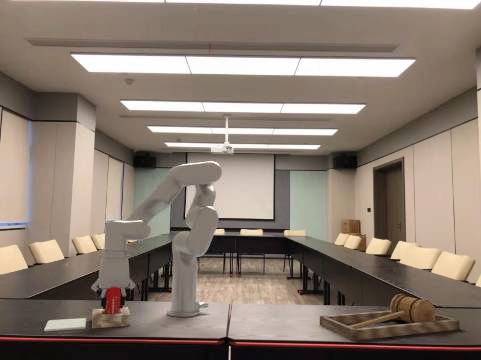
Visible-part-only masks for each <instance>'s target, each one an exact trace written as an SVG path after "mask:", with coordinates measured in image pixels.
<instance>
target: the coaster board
mask: <svg viewBox="0 0 481 360" xmlns="http://www.w3.org/2000/svg"><path fill="white" fill-rule="evenodd" d="M86 324H87V318H86V317H83V318H80V317H79V318H65V319H49V320H48V321H47V322H46V325H45V327H44V329H43V332H47V333H48V332H59V331H73V330H74V331H75V330H85V329H86Z"/></svg>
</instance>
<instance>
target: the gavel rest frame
mask: <svg viewBox="0 0 481 360" xmlns="http://www.w3.org/2000/svg"><path fill="white" fill-rule="evenodd" d="M390 314H391V310H382V311H381V310H380V311H370V312H369V311H368V312H367V311H366V312H356V313H346V314H345V313H344V314H343V313H341V314H331V315H319V325H320V326H321V327H324V328H325V329H327V330H331V332H334V333H336V334H339V335H341V336H343V337H346V338H348V339H350V340H352V341H363V340H372V339H374V340H375V339H382V338H389V337H391V338H392V337H398V336H399V337H400V336H401V337H402V336H408V335H418V334H428V333H438V332H444V331H445V332H447V331H456V330H461V329H460V328H461V327H460V324H461V323H460V320H459V319H456V318H451V317H448V316H444V315H440V314H438V313H435V321H432V322H422V323H403V324H402V323H401V324H391V325H382V326H372V327H363V328H358V329H354V328H352V327H349V326H350V324H358V323H362V322H366V321H370V320H373V319H376V318H380V317H383V316H386V315H390ZM395 320H396V319H394V318H393V319H389V320H388V321H395Z"/></svg>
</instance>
